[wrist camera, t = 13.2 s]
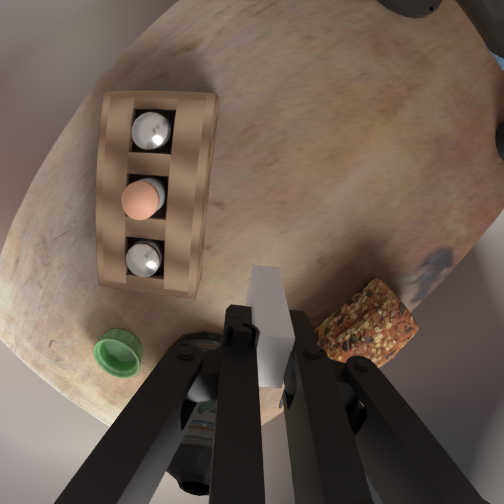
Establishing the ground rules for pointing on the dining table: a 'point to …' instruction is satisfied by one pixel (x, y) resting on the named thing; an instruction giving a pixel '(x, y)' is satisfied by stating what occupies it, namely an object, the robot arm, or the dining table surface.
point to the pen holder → (500, 140)
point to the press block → (169, 168)
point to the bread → (367, 326)
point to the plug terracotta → (144, 197)
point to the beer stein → (197, 433)
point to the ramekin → (118, 353)
